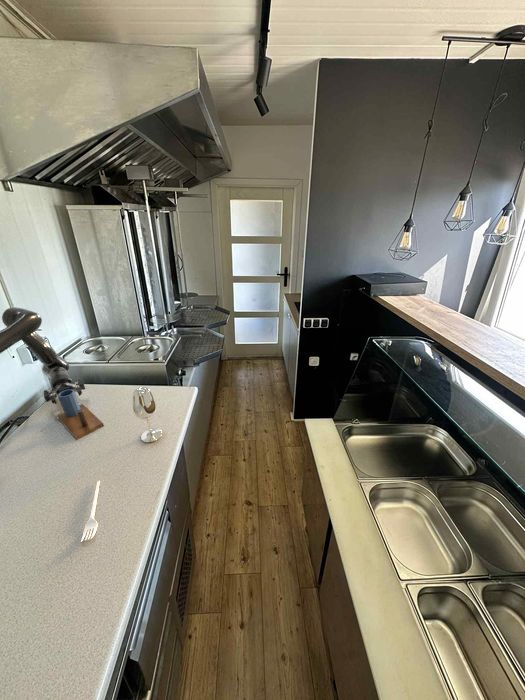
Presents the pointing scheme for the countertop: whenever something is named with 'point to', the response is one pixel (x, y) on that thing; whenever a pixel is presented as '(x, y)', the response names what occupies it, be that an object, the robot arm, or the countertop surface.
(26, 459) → the countertop surface
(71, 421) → the peg rack
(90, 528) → the fork
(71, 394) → the tube peg
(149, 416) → the wineglass
